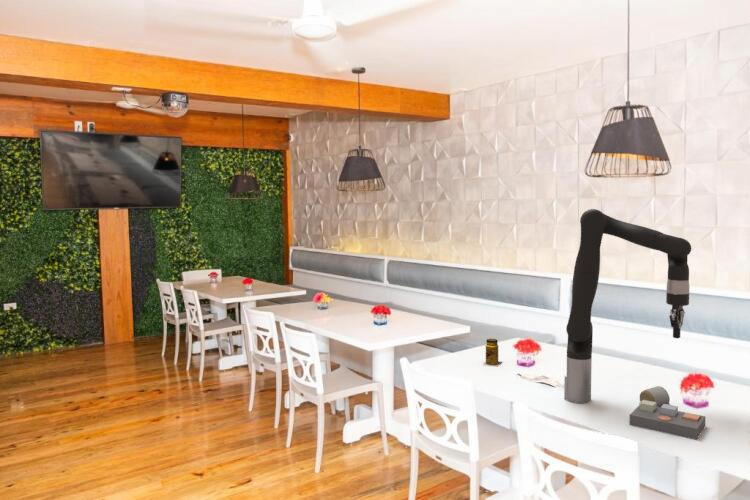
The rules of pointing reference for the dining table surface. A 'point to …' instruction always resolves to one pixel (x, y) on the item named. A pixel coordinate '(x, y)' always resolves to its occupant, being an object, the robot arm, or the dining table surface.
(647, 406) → the sage key
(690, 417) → the terracotta key
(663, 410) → the blue key
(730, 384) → the dining table surface
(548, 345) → the dining table surface
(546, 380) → the cloth
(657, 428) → the key panel
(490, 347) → the condiment
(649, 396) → the ceramic mug
